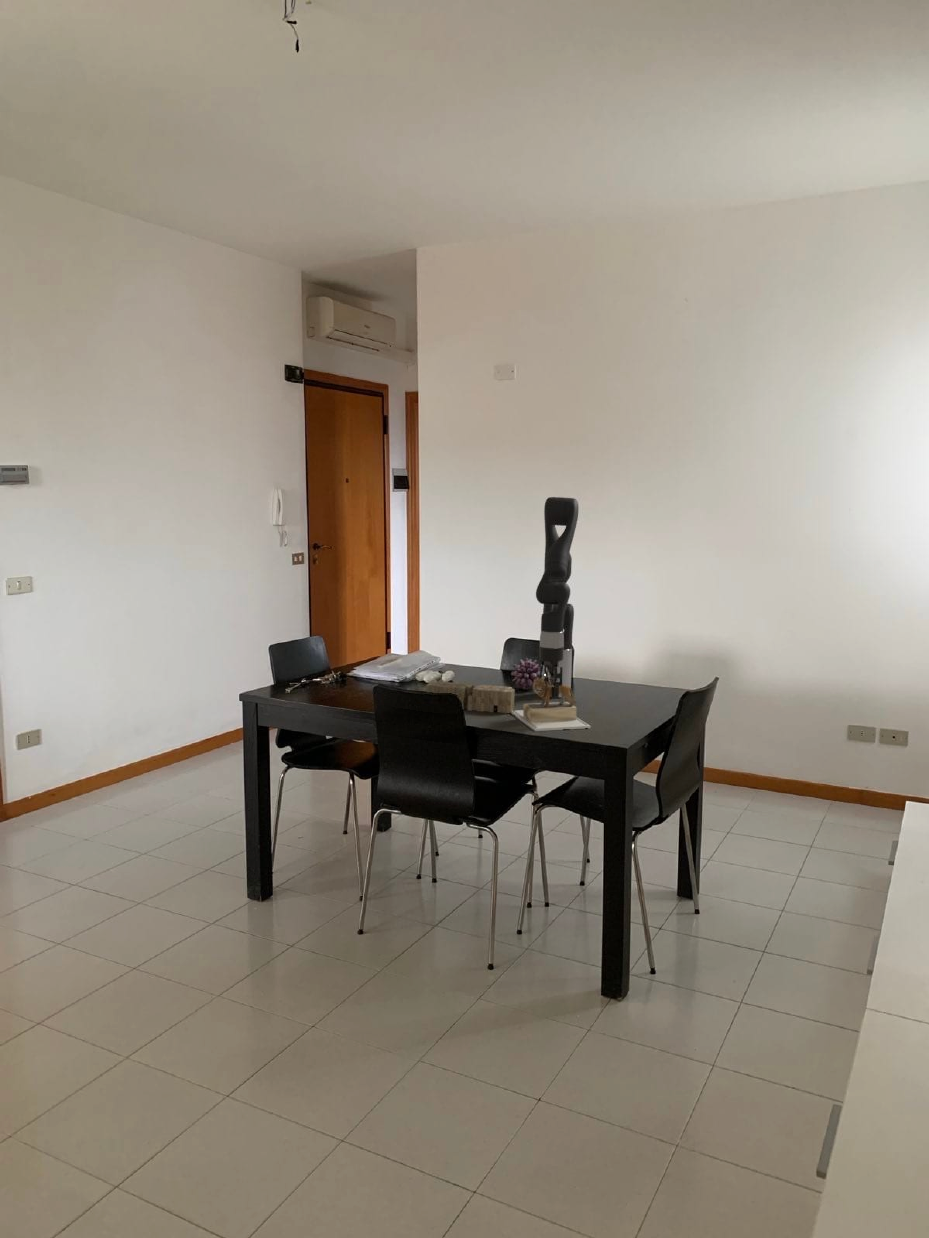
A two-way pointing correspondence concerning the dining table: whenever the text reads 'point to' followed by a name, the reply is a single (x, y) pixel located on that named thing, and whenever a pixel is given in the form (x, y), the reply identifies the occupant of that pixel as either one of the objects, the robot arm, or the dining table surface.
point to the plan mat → (551, 723)
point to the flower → (526, 673)
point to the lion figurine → (545, 692)
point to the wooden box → (549, 712)
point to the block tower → (477, 695)
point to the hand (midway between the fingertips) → (550, 695)
